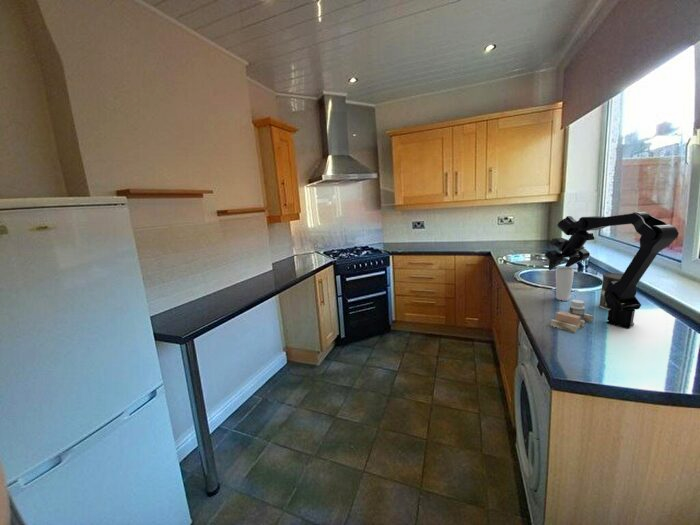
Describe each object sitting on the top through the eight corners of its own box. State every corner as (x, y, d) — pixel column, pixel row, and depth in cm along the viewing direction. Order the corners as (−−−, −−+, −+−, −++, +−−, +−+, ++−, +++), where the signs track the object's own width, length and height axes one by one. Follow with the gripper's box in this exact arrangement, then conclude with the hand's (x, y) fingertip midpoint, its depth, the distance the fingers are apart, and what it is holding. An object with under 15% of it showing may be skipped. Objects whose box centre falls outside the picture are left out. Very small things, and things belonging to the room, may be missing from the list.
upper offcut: (580, 322, 112) (580, 316, 112) (577, 324, 111) (577, 318, 110) (558, 317, 118) (559, 311, 117) (555, 319, 116) (556, 313, 116)
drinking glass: (574, 301, 138) (577, 270, 135) (558, 302, 140) (559, 270, 137) (567, 296, 145) (569, 266, 142) (551, 296, 146) (553, 266, 143)
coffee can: (634, 313, 123) (639, 280, 120) (601, 310, 128) (606, 278, 125) (626, 305, 132) (630, 274, 129) (596, 302, 137) (600, 272, 134)
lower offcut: (579, 329, 113) (580, 322, 112) (576, 331, 111) (576, 325, 111) (558, 323, 118) (558, 317, 118) (554, 325, 117) (555, 319, 116)
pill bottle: (568, 318, 122) (571, 298, 120) (583, 320, 119) (586, 300, 117) (567, 322, 118) (570, 301, 117) (582, 325, 115) (585, 304, 114)
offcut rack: (592, 321, 118) (593, 315, 117) (574, 333, 109) (575, 326, 109) (569, 315, 124) (569, 309, 124) (550, 326, 116) (551, 319, 115)
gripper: (579, 228, 138) (561, 254, 149) (545, 233, 134) (529, 259, 145) (599, 244, 130) (579, 270, 141) (563, 249, 126) (545, 275, 137)
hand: (557, 268), depth 141 cm, fingers open, 9 cm apart
